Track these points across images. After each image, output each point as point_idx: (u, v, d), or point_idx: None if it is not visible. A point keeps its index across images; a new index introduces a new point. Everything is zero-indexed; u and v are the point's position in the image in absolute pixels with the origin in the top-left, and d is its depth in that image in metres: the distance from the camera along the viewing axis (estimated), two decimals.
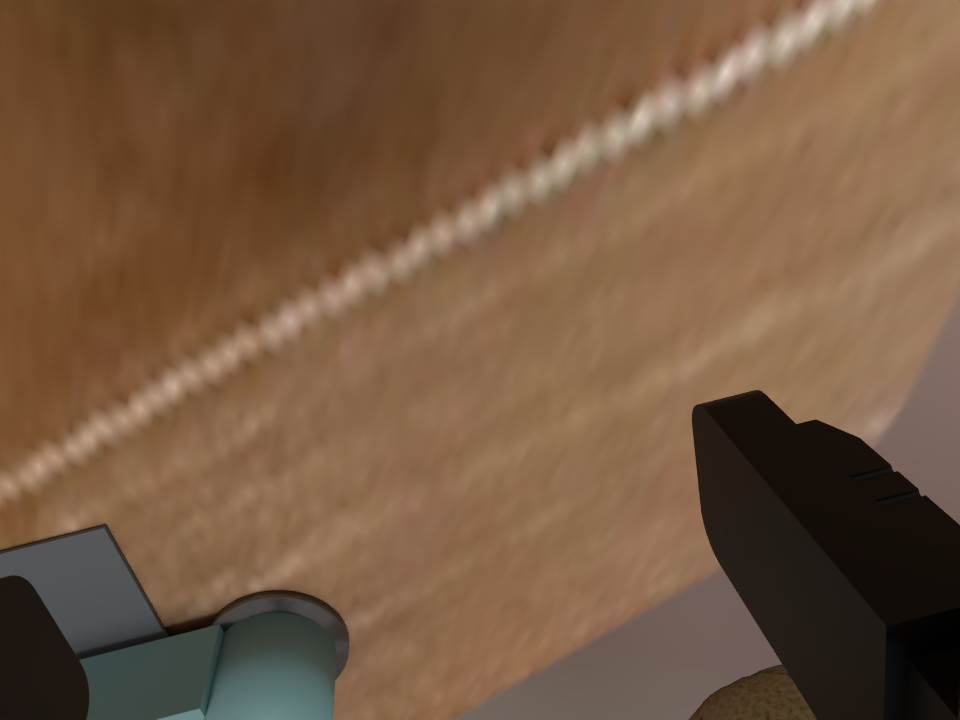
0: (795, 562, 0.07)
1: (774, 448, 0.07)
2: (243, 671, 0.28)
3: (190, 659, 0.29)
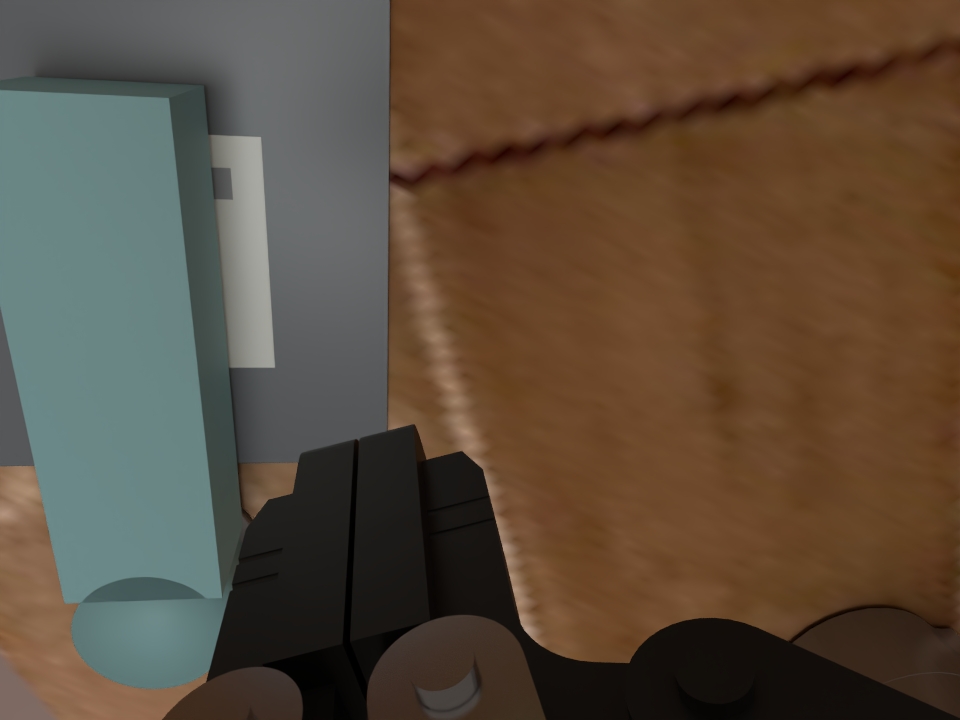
0: None
1: (384, 480, 0.08)
2: None
3: (233, 531, 0.27)
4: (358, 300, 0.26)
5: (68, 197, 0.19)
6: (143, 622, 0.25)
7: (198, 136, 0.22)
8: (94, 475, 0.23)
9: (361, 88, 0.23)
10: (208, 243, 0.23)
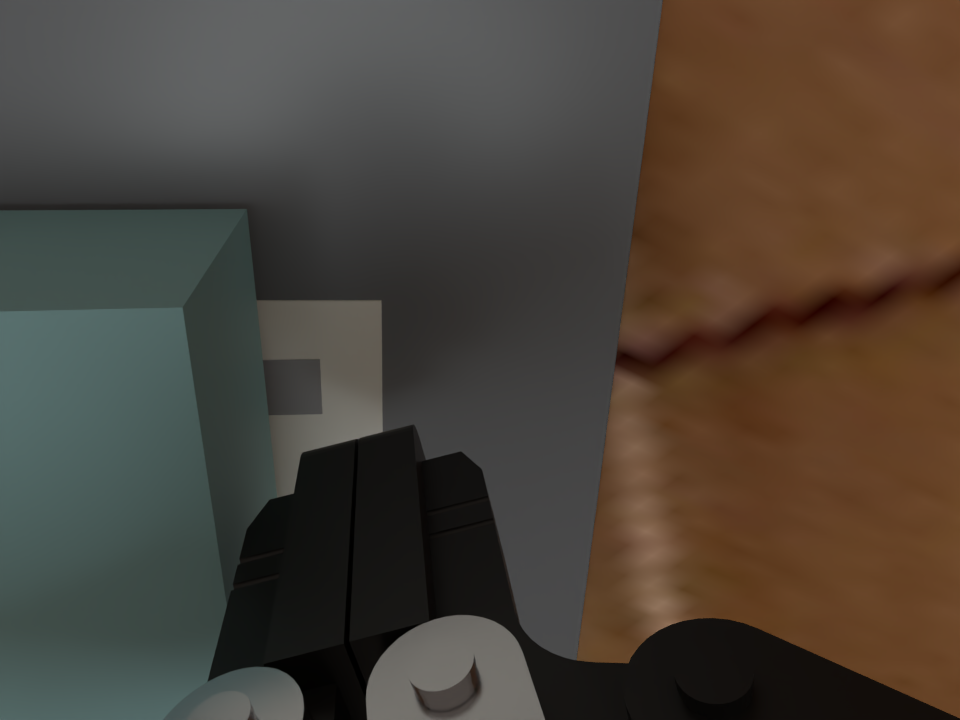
0: None
1: (383, 480, 0.08)
2: None
3: None
4: (538, 563, 0.15)
5: None
6: None
7: (243, 327, 0.10)
8: None
9: (583, 203, 0.12)
10: None
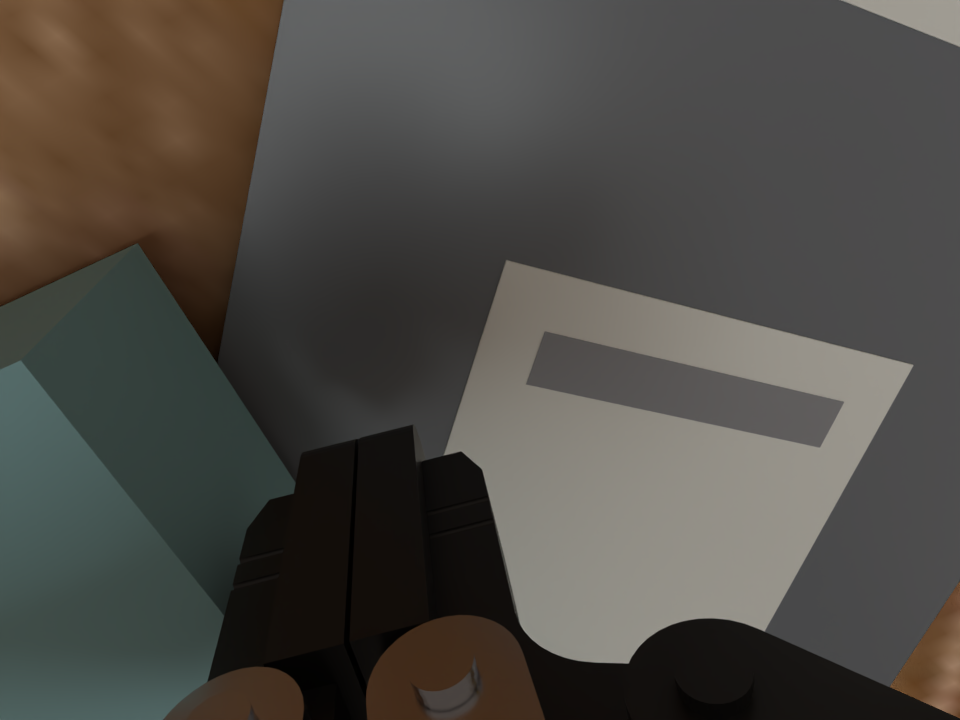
0: None
1: (384, 480, 0.08)
2: None
3: None
4: (899, 609, 0.17)
5: None
6: None
7: (169, 355, 0.10)
8: None
9: None
10: None
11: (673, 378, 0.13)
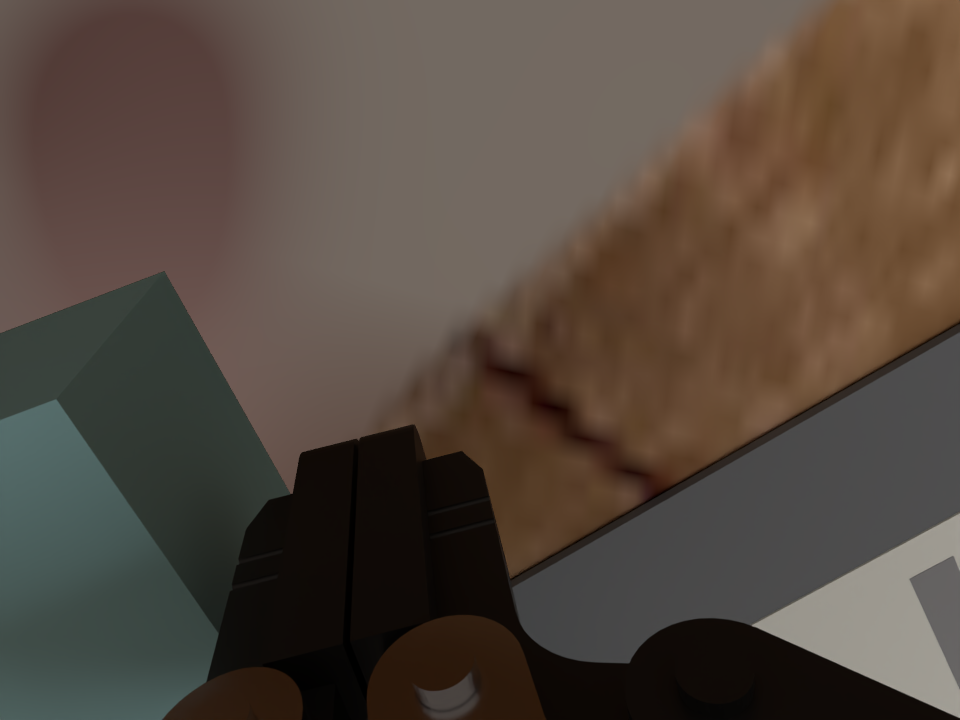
0: None
1: (384, 480, 0.08)
2: None
3: None
4: None
5: None
6: None
7: (189, 385, 0.10)
8: None
9: None
10: None
11: None
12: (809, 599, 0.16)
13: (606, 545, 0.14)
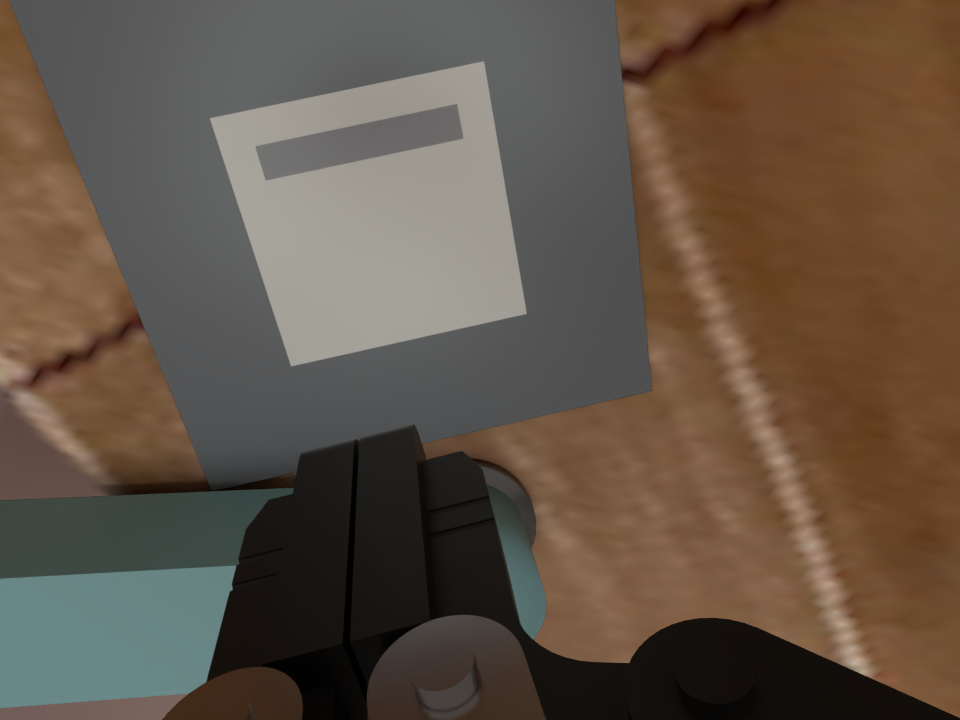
0: None
1: (384, 479, 0.08)
2: None
3: None
4: (604, 220, 0.24)
5: None
6: None
7: None
8: None
9: None
10: (59, 519, 0.24)
11: (345, 138, 0.22)
12: (259, 249, 0.23)
13: (166, 360, 0.24)
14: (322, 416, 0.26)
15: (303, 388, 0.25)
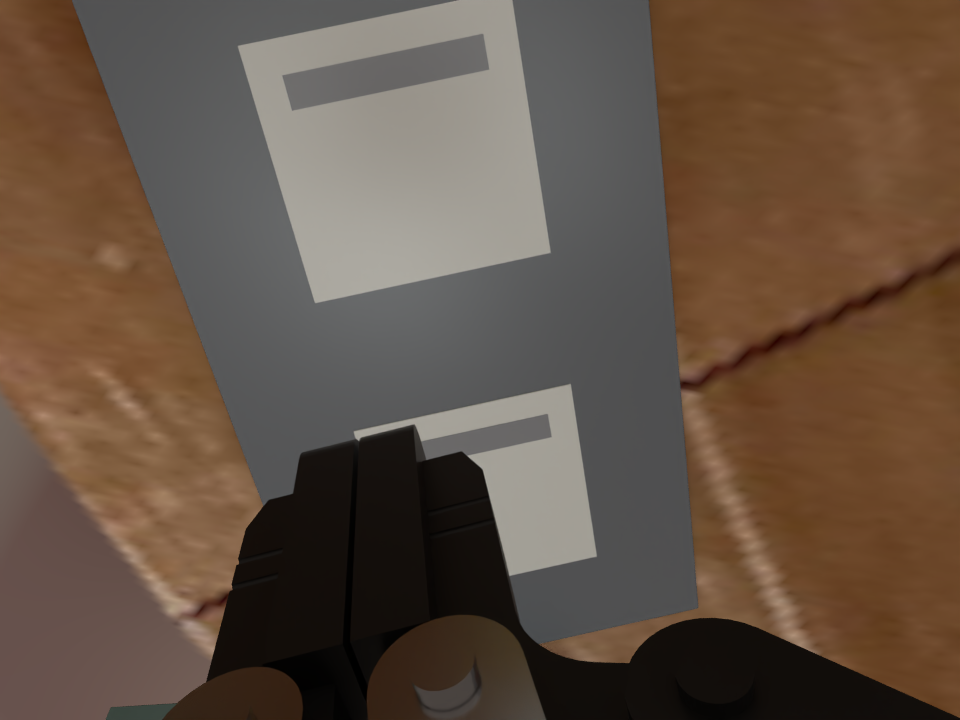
0: None
1: (384, 481, 0.08)
2: None
3: None
4: (662, 488, 0.29)
5: None
6: None
7: None
8: None
9: (651, 325, 0.27)
10: None
11: (457, 440, 0.28)
12: None
13: None
14: None
15: None
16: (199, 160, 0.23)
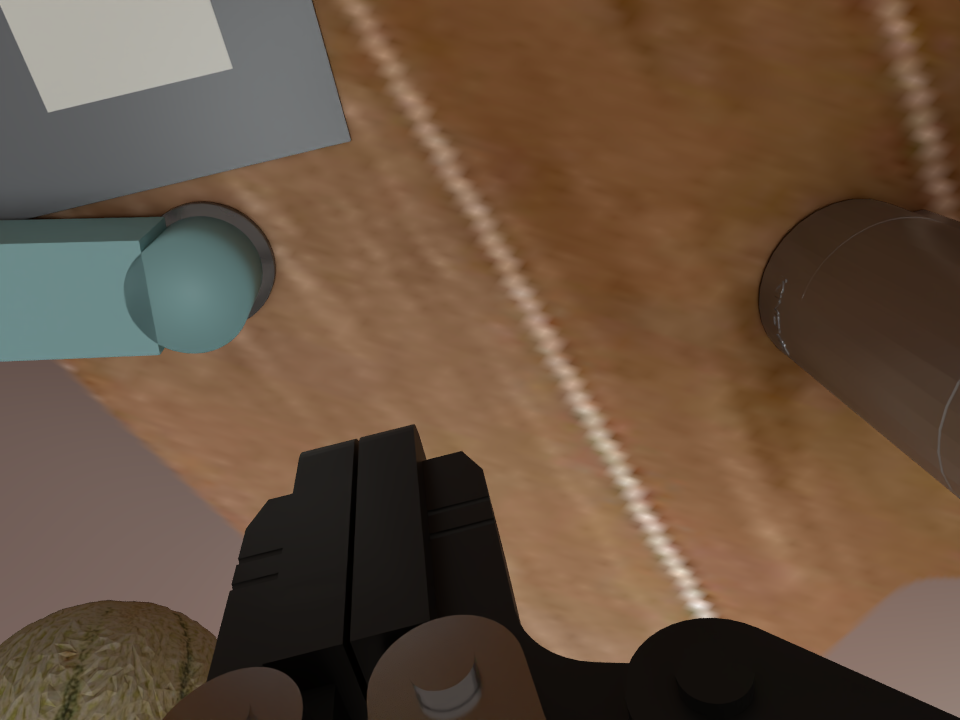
0: None
1: (384, 480, 0.08)
2: (182, 232, 0.31)
3: (134, 225, 0.32)
4: None
5: None
6: (173, 302, 0.31)
7: None
8: (28, 324, 0.31)
9: None
10: None
11: None
12: (7, 9, 0.30)
13: None
14: (80, 158, 0.33)
15: (61, 133, 0.32)
16: None
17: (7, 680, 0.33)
